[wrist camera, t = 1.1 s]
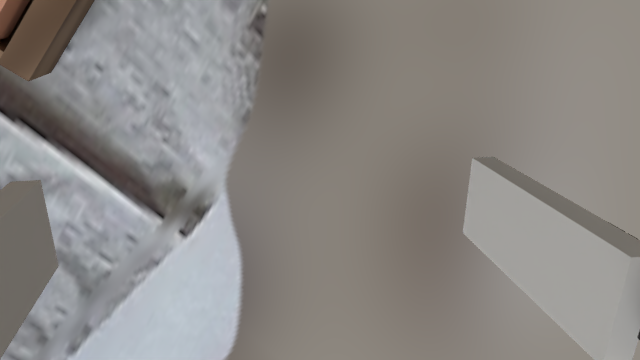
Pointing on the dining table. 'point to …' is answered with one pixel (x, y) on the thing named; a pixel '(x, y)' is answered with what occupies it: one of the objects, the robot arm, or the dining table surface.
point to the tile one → (10, 15)
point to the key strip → (41, 36)
